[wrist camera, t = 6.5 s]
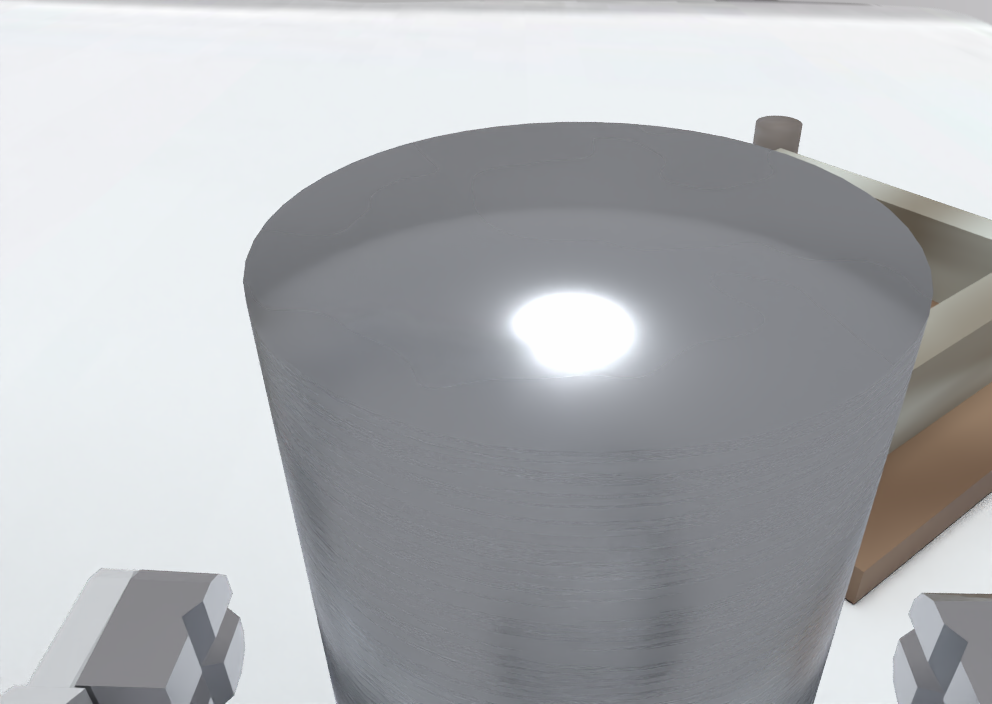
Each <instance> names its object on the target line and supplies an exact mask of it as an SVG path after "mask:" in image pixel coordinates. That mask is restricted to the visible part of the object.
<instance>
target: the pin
mask: <svg viewBox="0 0 992 704" xmlns="http://www.w3.org/2000/svg"><path fill="white" fill-rule="evenodd" d="M243 284H244V290H245V297H246V303H247V308H248V312H249V317H250V321H251V326H252V330H253V335H254V339H255V343H256V348H257V352H258V357H259V361H260V366H261V370H262V375H263V379H264V384H265V388H266V392H267V397H268V401H269V406H270V410H271V415H272V419H273V424H274V428H275V433H276V437H277V441H278V446H279V450H280V455H281V459H282V464H283V468H284V473H285V477H286V482H287V486H288V490H289V495H290V499H291V504H292V508H293V513H294V517H295V522H296V526H297V531H298V535H299V539H300V544H301V548H302V553H303V557H304V562H305V566H306V571H307V575H308V580H309V584H310V589H311V593H312V597H313V602H314V606H315V611H316V615H317V620H318V624H319V629H320V633H321V638H322V642H323V646H324V651H325V655H326V660H327V664H328V669H329V673H330V678H331V682H332V687H333V691H334V695H335V700H336V704H813V703H814V700H815V696H816V693H817V690H818V686H819V683H820V679H821V676H822V673H823V669H824V666H825V663H826V659H827V656H828V653H829V649H830V646H831V643H832V639H833V636H834V633H835V629H836V626H837V622H838V619H839V616H840V612H841V609H842V606H843V602H844V599H845V596H846V592H847V589H848V586H849V582H850V579H851V576H852V572H853V569H854V566H855V562H856V559H857V555H858V552H859V549H860V545H861V542H862V539H863V535H864V532H865V529H866V525H867V522H868V519H869V515H870V512H871V509H872V505H873V502H874V498H875V495H876V492H877V488H878V485H879V482H880V478H881V475H882V472H883V468H884V465H885V462H886V458H887V455H888V452H889V448H890V445H891V441H892V438H893V435H894V431H895V428H896V425H897V421H898V418H899V415H900V411H901V408H902V405H903V401H904V398H905V395H906V391H907V388H908V384H909V381H910V378H911V374H912V371H913V368H914V364H915V361H916V358H917V354H918V351H919V348H920V344H921V341H922V338H923V334H924V331H925V327H926V324H927V321H928V317H929V313H930V308H931V303H932V297H933V284H932V275H931V269H930V266H929V264H928V261H927V259H926V256H925V254H924V251H923V249H922V247H921V246H920V244H919V243H918V241H917V240H916V239H915V237H914V236H913V234H912V233H911V231H910V230H909V228H908V227H907V226H906V225H905V224H904V223H903V222H902V221H901V220H900V219H899V218H898V217H897V216H896V215H895V214H894V213H893V212H892V211H891V210H890V209H888V208H887V207H886V206H884V205H883V204H882V203H880V202H879V201H878V200H876V199H875V198H874V197H872V196H871V195H870V194H868V193H867V192H865V191H863V190H862V189H860V188H858V187H857V186H855V185H853V184H852V183H850V182H848V181H847V180H845V179H843V178H841V177H839V176H837V175H835V174H833V173H831V172H829V171H826V170H824V169H822V168H820V167H818V166H816V165H813V164H811V163H808V162H806V161H803V160H800V159H798V158H795V157H793V156H790V155H787V154H784V153H781V152H778V151H775V150H771V149H768V148H765V147H762V146H758V145H755V144H751V143H747V142H743V141H739V140H735V139H730V138H726V137H722V136H716V135H711V134H706V133H700V132H695V131H689V130H682V129H674V128H667V127H660V126H649V125H638V124H625V123H603V122H555V123H533V124H520V125H509V126H498V127H491V128H484V129H477V130H470V131H463V132H458V133H453V134H448V135H443V136H437V137H433V138H429V139H425V140H421V141H417V142H413V143H409V144H405V145H402V146H399V147H396V148H392V149H389V150H386V151H383V152H380V153H377V154H374V155H372V156H369V157H367V158H364V159H361V160H359V161H356V162H354V163H351V164H349V165H347V166H345V167H343V168H341V169H339V170H337V171H335V172H333V173H331V174H328V175H326V176H325V177H323V178H321V179H320V180H318V181H316V182H315V183H313V184H311V185H310V186H308V187H306V188H305V189H303V190H302V191H301V192H299V193H298V194H297V195H295V196H294V197H293V198H291V199H290V200H289V201H288V202H286V203H285V204H284V205H283V206H282V207H281V208H280V209H279V210H278V211H277V212H276V213H275V214H274V215H273V216H272V217H271V218H270V219H269V220H268V221H267V222H266V223H265V225H264V226H263V228H262V229H261V231H260V232H259V234H258V235H257V237H256V238H255V239H254V241H253V244H252V246H251V249H250V251H249V254H248V256H247V259H246V263H245V271H244V279H243Z"/></svg>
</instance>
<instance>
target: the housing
mask: <svg viewBox="0 0 992 704" xmlns="http://www.w3.org/2000/svg"><path fill="white" fill-rule="evenodd" d="M801 130H802V123H801V122H800V121H799V120H797V119H794V118H790V117H785V116H766V117H762V118H759V119H758V120H757V121H756V127H755V134H754V140H753V144H755V145H758V146H762V147H765V148H768V149H771V150H775V151H778V152H781V153H784V154H787V155H790V156H793V157H795V158H798V159H800V160H803V161H806V162H808V163H811V164H813V165H816V166H818V167H820V168H822V169H824V170H826V171H829V172H831V173H833V174H835V175H837V176H839V177H841V178H843V179H845V180H847V181H848V182H850V183H852V184H853V185H855V186H857V187H858V188H860V189H862V190H863V191H865V192H867V193H868V194H870V195H871V196H872V197H874V198H875V199H876V200H878V201H879V202H880V203H882V204H883V205H884V206H886V207H887V208H888V209H890V210H891V211H892V212H893V213H894V214H895V215H896V216H897V217H898V218H899V219H900V220H901V221H902V222H903V223H904V224H905V225H906V226H907V227H908V228H909V230H910V231H911V233H912V234H913V236H914V237H915V239H916V240H917V241H918V243H919V244H920V246H921V247H922V249H923V251H924V254H925V256H926V259H927V261H928V264H929V266H930V269H931V275H932V284H933V297H932V303H931V308H930V313H929V317H928V321H927V324H926V327H925V331H924V334H923V338H922V341H921V344H920V348H919V351H918V354H917V358H916V361H915V364H914V368H913V371H912V374H911V378H910V381H909V384H908V388H907V391H906V395H905V398H904V401H903V405H902V408H901V411H900V415H899V418H898V421H897V425H896V428H895V431H894V435H893V438H892V441H891V445H890V448H889V452H888V455H887V458H886V462H885V465H884V468H883V472H882V475H881V478H880V482H879V485H878V488H877V492H876V495H875V498H874V502H873V505H872V509H871V512H870V515H869V519H868V522H867V525H866V529H865V532H864V535H863V539H862V542H861V545H860V549H859V552H858V555H857V559H856V562H855V566H854V569H853V572H852V576H851V579H850V582H849V586H848V589H847V592H846V596H845V598H846V599H847V600H849V601H850V602H852V603H853V604H855V603H856V602H857V601H858V600H860V599H861V598H862V597H863V596H864V595H866V594H867V593H868V592H869V591H871V590H872V589H873V588H874V587H875V586H877V585H878V584H879V583H880V582H882V581H883V580H884V579H885V578H886V577H888V576H889V575H890V574H891V573H893V572H894V571H895V570H896V569H898V568H899V567H900V566H901V565H902V564H904V563H905V562H906V561H907V560H909V559H910V558H911V557H912V556H913V555H915V554H916V553H917V552H918V551H920V550H921V549H922V548H923V547H924V546H926V545H927V544H928V543H929V542H931V541H932V540H933V539H934V538H935V537H937V536H938V535H939V534H940V533H942V532H943V531H944V530H945V529H946V528H948V527H949V526H950V525H951V524H953V523H954V522H955V521H956V520H957V519H959V518H960V517H961V516H962V515H964V514H965V513H966V512H967V511H968V510H970V509H971V508H972V507H973V506H975V505H976V504H977V503H978V502H979V501H981V500H982V499H983V498H984V497H986V496H987V495H988V494H989V493H990V492H992V220H990V219H987V218H984V217H981V216H978V215H975V214H972V213H970V212H967V211H964V210H961V209H958V208H955V207H952V206H949V205H946V204H943V203H940V202H937V201H934V200H931V199H929V198H926V197H923V196H920V195H917V194H914V193H911V192H908V191H905V190H902V189H899V188H896V187H893V186H890V185H887V184H885V183H882V182H879V181H876V180H873V179H870V178H867V177H864V176H861V175H858V174H855V173H852V172H849V171H846V170H843V169H841V168H838V167H835V166H832V165H829V164H826V163H823V162H820V161H817V160H814V159H811V158H808V157H805V156H802V155H799V154H797V153H798V147H799V141H800V136H801Z"/></svg>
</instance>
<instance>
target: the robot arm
mask: <svg viewBox="0 0 992 704" xmlns="http://www.w3.org/2000/svg"><path fill="white" fill-rule="evenodd" d="M232 594H233V593H232V590H231V587H230V584H229V581H228V579H227V576H226V575H222V574H209V573H191V572H173V571H155V570H131V569H108V568H101V569H99V570H98V571H97V572H96V573H95V574H93V575H92V576H91V577H90V578H89V579H88V581H87V582H86V584H85V586H84V587H83V589H82V591H81V593H80V594H79V596H78V598H77V599H76V601H75V603H74V605H73V606H72V608H71V610H70V612H69V613H68V615H67V617H66V618H65V620H64V622H63V624H62V625H61V627H60V629H59V630H58V632H57V634H56V636H55V637H54V639H53V641H52V643H51V644H50V646H49V648H48V649H47V651H46V653H45V655H44V656H43V658H42V660H41V661H40V663H39V665H38V667H37V668H36V670H35V672H34V673H33V675H32V677H31V679H30V680H29V682H28V684H27V685H14V686H13V687H11V688H10V689H8V690H7V691H6V692H4V693H3V694H2V695H0V704H225V703H226V702H227V701H228V700H229V699H231V698H232V697H233V696H234V694H235V691H236V688H237V685H238V682H239V679H240V676H241V673H242V666H243V659H244V652H245V642H244V630H243V627H242V623H241V619H240V617H239V616H237V615H236V614H235V613H234V612H232V611H231V610H230V609H228V608H227V607H228V605H229V602H230V599H231V597H232ZM909 617H910V619H911V622H912V624H913V627H914V629H913V630H912V631H910V632H909V633H907V634H906V635H904V636H903V637H901V638H900V639H899V641H898V645H897V648H896V651H895V654H894V657H893V682H894V688H895V693H896V698H897V702H898V704H992V594H955V593H921V594H920V595H919V596H918V597H917V598H915V599H914V601H913V604H912V606H911V609H910V611H909Z"/></svg>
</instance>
